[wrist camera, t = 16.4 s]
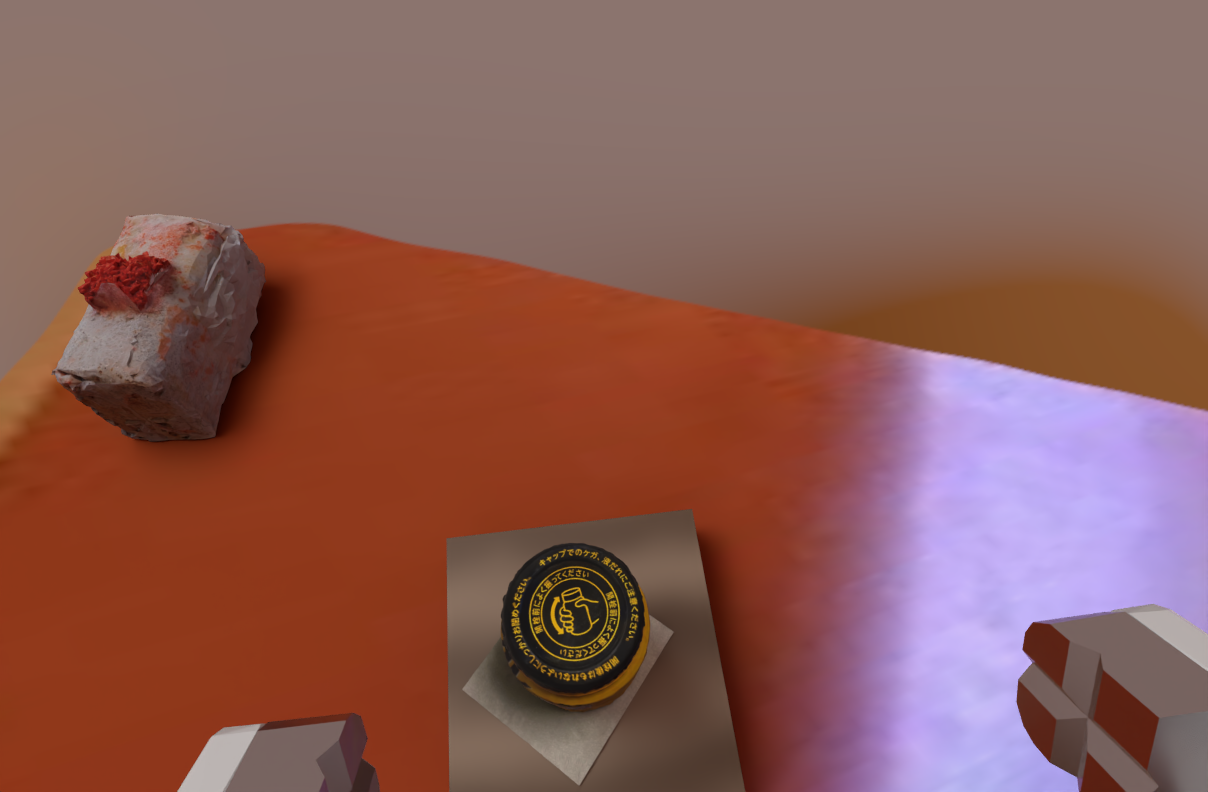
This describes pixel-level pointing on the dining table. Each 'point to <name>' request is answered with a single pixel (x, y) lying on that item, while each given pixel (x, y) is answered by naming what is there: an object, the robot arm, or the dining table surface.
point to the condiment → (569, 653)
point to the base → (660, 706)
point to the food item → (165, 327)
